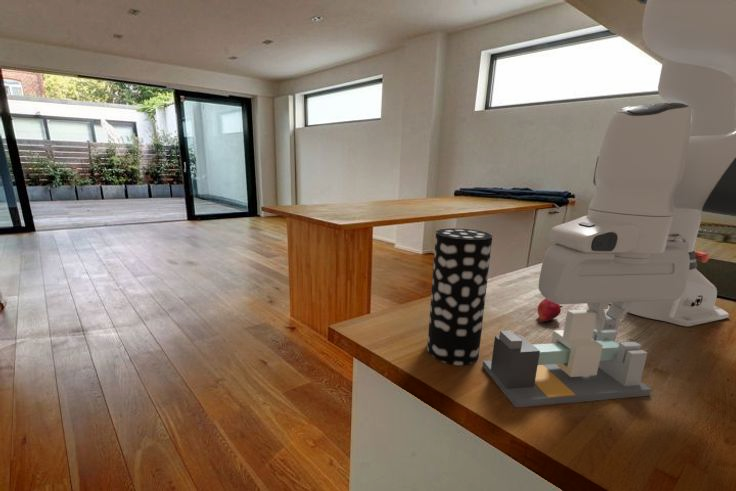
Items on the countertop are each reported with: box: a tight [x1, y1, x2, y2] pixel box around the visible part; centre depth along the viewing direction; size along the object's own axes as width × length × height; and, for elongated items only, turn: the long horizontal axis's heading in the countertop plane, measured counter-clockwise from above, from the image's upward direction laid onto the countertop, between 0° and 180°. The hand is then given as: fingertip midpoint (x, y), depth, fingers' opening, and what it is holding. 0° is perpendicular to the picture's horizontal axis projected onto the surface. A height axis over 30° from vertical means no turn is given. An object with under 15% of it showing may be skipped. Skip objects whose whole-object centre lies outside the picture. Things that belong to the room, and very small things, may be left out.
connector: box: [491, 329, 540, 389], centre depth 47 cm, size 4×4×7 cm
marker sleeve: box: [551, 308, 603, 377], centre depth 48 cm, size 4×5×9 cm
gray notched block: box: [592, 329, 648, 386], centre depth 50 cm, size 2×7×6 cm, turn 9°
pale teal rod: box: [533, 340, 619, 365], centre depth 48 cm, size 16×2×2 cm, turn 99°
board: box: [482, 359, 652, 408], centre depth 49 cm, size 20×9×1 cm, turn 99°
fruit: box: [537, 297, 563, 323], centre depth 68 cm, size 4×6×5 cm
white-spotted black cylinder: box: [427, 227, 493, 366], centre depth 54 cm, size 8×8×20 cm
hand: (603, 328), depth 48 cm, fingers closed
